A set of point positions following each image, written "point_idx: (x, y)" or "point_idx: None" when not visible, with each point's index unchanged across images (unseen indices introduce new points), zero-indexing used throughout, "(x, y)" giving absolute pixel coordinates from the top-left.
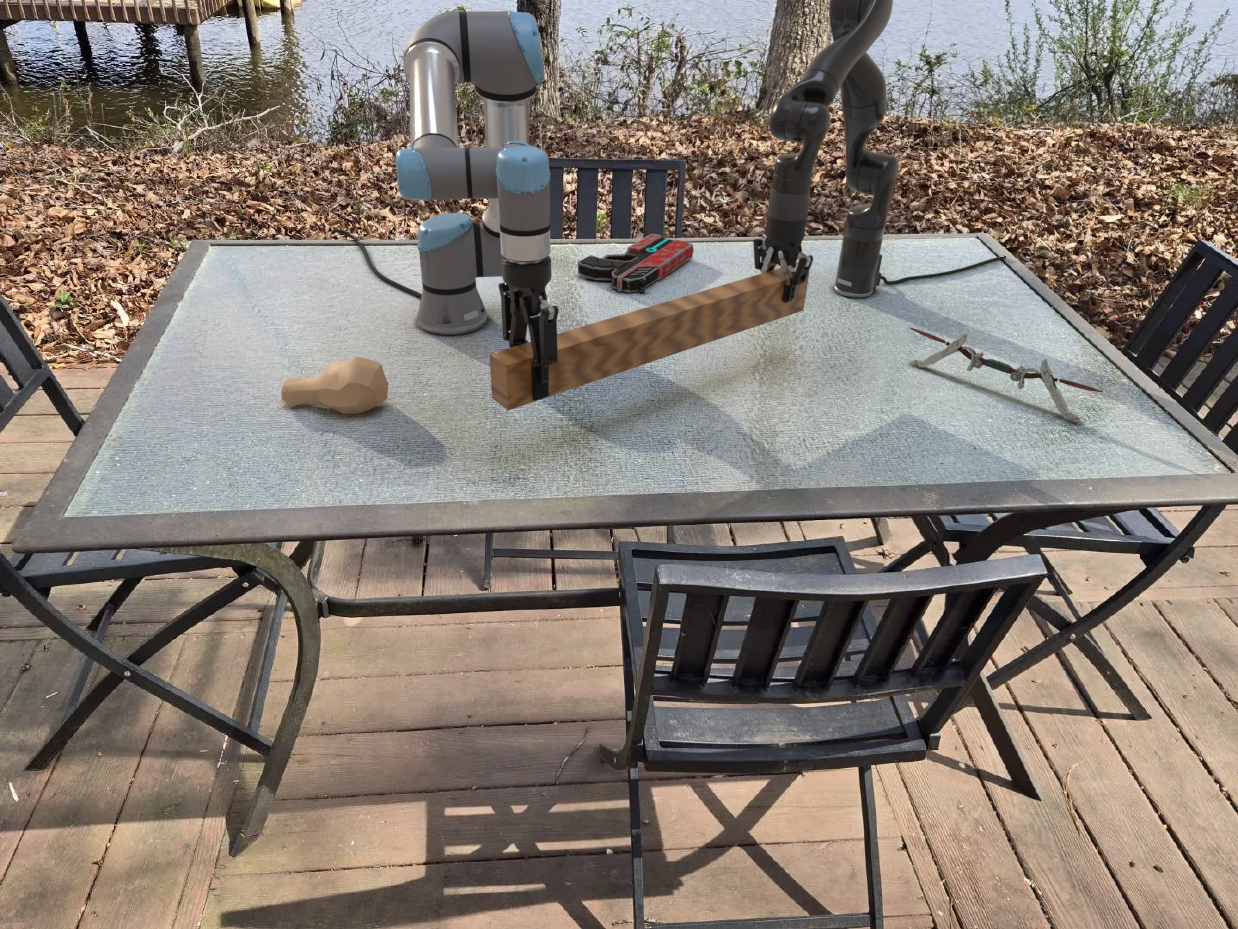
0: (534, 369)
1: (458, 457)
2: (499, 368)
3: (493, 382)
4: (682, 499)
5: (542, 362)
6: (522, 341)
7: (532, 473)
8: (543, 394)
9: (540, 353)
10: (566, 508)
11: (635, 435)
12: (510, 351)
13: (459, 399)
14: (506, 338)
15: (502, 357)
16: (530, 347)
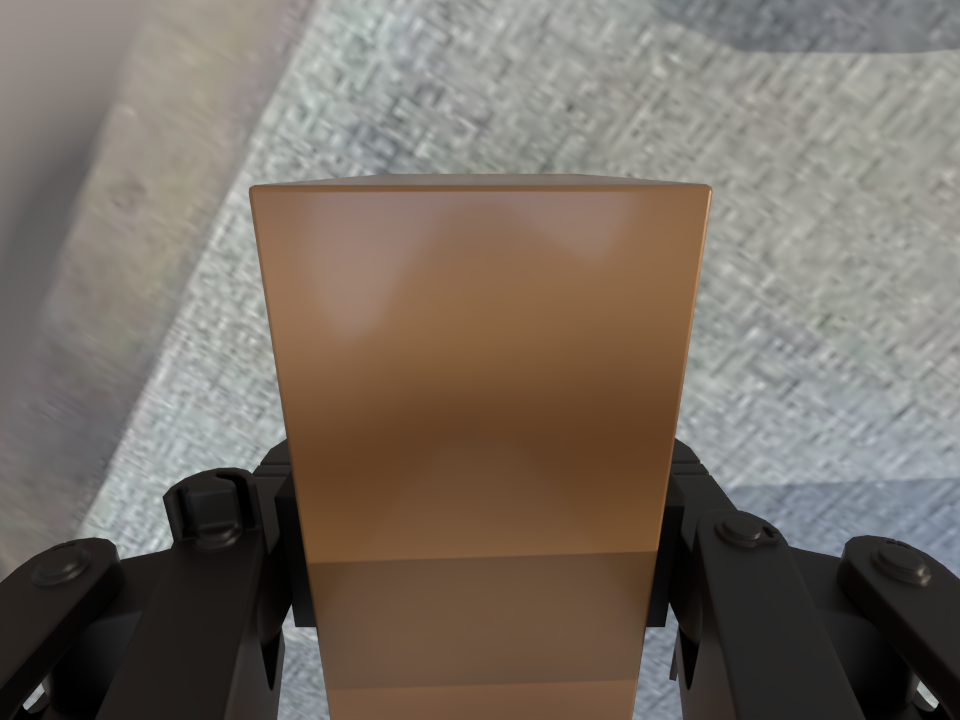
0: (289, 474)
1: (632, 55)
2: (445, 181)
3: (566, 176)
4: (60, 496)
5: (36, 570)
6: (693, 650)
7: None
8: None
9: (19, 664)
10: (148, 209)
11: None
12: (577, 447)
13: (954, 281)
14: (859, 568)
15: (497, 280)
16: (521, 644)
